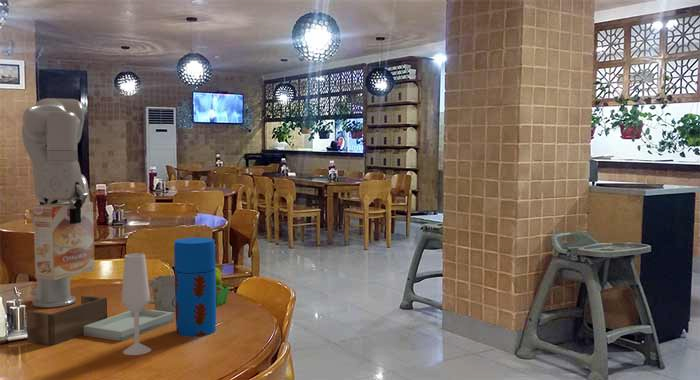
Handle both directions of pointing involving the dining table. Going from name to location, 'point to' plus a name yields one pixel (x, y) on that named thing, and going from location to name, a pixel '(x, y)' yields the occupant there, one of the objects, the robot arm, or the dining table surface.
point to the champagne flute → (135, 295)
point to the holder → (65, 321)
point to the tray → (127, 324)
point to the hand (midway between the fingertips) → (64, 222)
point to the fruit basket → (220, 289)
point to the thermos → (195, 286)
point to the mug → (163, 293)
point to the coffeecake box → (63, 241)
